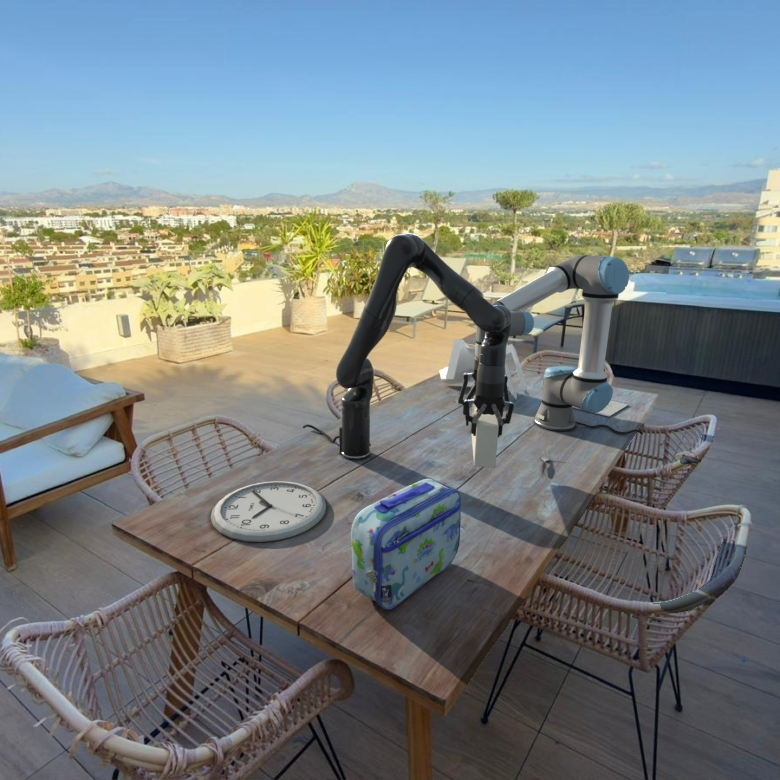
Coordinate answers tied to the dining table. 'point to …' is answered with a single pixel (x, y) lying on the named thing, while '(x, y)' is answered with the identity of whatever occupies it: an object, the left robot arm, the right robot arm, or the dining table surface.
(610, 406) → the invitation card
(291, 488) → the wall clock
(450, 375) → the white plastic object
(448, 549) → the lunch box
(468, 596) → the dining table surface
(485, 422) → the box
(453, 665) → the dining table surface
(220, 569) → the dining table surface
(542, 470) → the fork
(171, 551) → the dining table surface
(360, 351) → the left robot arm
